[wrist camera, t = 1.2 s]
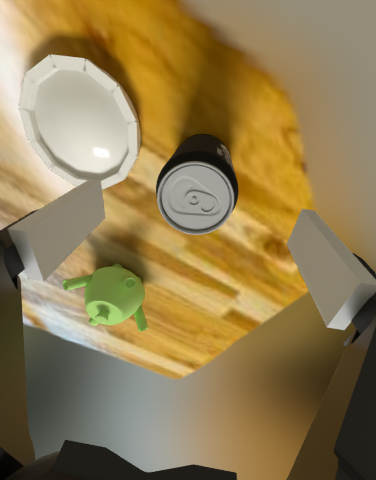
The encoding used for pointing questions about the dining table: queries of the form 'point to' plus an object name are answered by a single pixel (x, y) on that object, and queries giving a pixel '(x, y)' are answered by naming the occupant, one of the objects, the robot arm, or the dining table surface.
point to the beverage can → (197, 186)
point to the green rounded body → (111, 295)
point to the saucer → (80, 120)
